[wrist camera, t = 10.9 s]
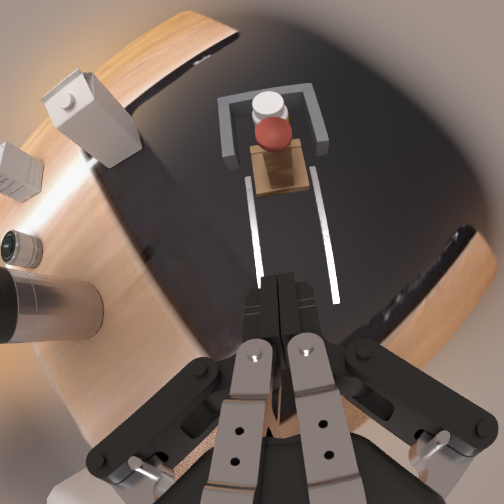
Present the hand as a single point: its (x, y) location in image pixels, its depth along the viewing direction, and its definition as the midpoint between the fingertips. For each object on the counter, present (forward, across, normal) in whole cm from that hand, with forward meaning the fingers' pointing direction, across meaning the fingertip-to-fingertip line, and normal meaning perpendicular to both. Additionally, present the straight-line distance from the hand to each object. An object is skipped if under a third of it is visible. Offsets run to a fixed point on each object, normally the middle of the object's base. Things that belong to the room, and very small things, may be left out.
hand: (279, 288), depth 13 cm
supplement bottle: (+34, -1, 0) cm, 34 cm away
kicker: (+29, -1, +5) cm, 29 cm away
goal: (+34, -1, 0) cm, 34 cm away
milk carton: (+38, +25, -4) cm, 45 cm away
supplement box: (+38, +50, -3) cm, 63 cm away
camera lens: (+26, +47, +8) cm, 54 cm away
